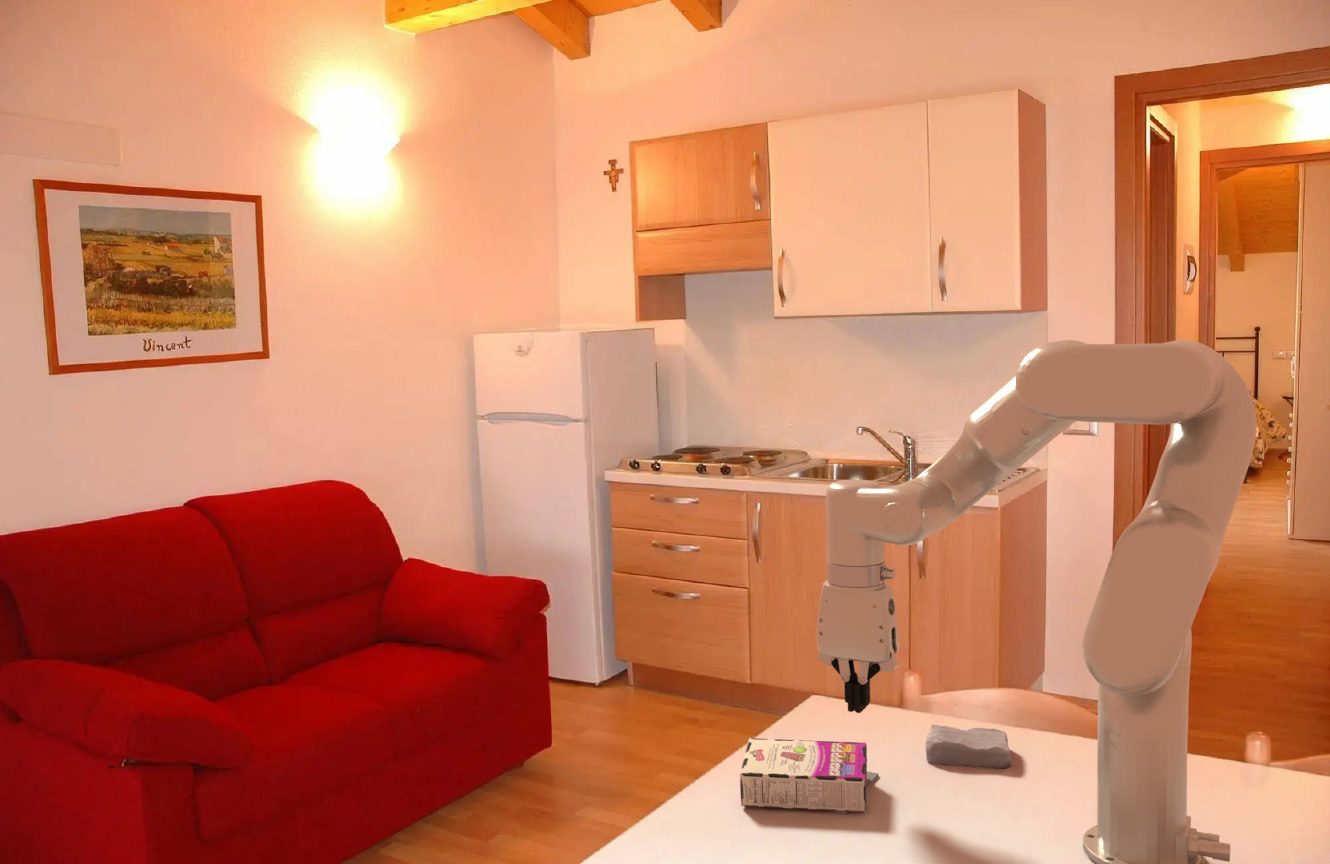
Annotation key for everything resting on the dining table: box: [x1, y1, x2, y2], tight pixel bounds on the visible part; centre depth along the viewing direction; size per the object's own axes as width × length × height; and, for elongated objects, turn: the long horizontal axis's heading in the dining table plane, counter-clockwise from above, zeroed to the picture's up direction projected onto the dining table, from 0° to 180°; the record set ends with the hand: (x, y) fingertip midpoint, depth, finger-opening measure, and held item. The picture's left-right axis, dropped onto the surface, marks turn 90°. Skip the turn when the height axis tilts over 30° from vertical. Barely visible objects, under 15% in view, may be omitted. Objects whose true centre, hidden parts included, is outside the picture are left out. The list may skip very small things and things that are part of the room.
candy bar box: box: [739, 737, 868, 813], centre depth 145 cm, size 11×5×16 cm
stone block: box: [925, 723, 1012, 770], centre depth 156 cm, size 12×5×10 cm
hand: (857, 708), depth 144 cm, fingers closed
